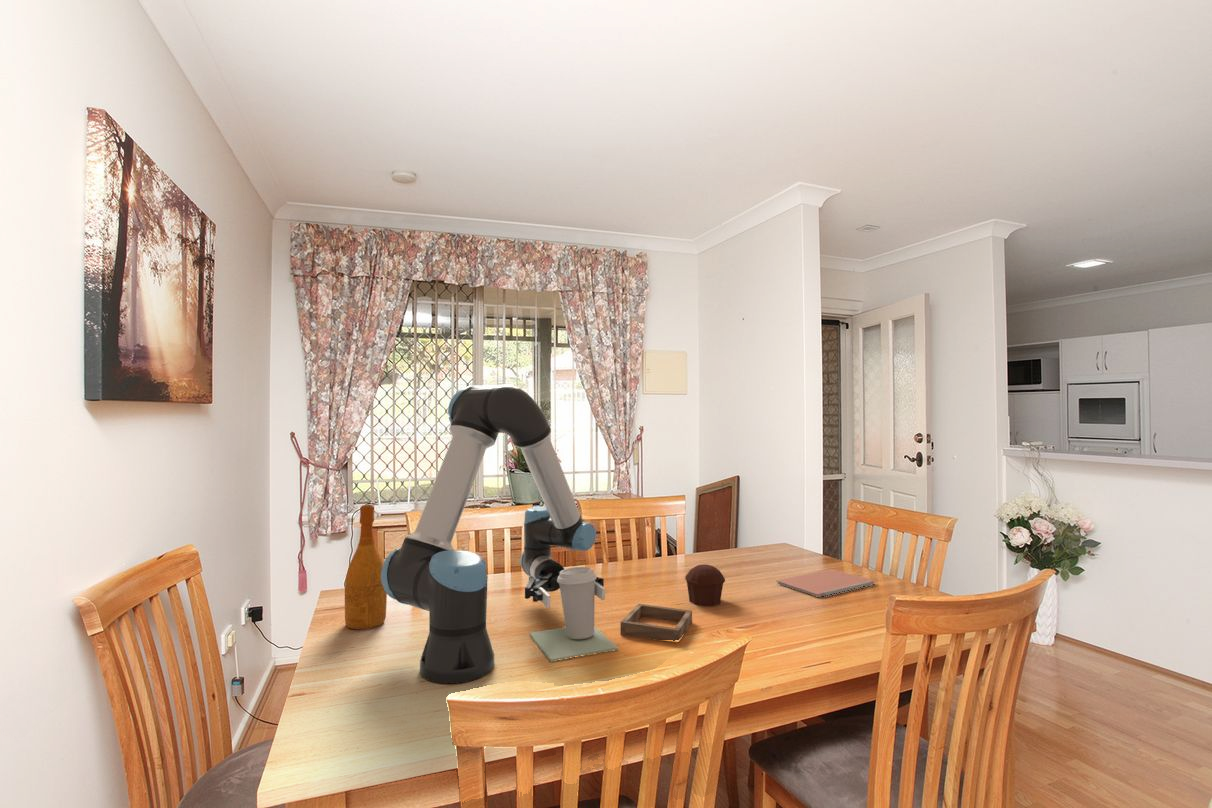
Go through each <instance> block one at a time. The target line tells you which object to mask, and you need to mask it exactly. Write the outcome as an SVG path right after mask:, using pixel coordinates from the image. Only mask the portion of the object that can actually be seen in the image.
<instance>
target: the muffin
mask: <svg viewBox="0 0 1212 808" xmlns="http://www.w3.org/2000/svg"><path fill="white" fill-rule="evenodd" d="M684 578H685V579H684V580H685V581H686V584H687V593H688V600H689V601H688V602H690V603H692V604H693V605H697V606H700V605H701V607H715V606H718V605H720V604H721V600H722V594H723V593H722V592H723V586H724V583H725V581H726V579H725V576H724V575H723V574H722V572H721V571H720V569H719V568H717V567H715V566H713V565H711V564H698V565H696V566H694V567H692V568H691V569H690V570H688V572H687V574H686V575H685V576H684Z"/></svg>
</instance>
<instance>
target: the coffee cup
mask: <svg viewBox="0 0 1212 808" xmlns="http://www.w3.org/2000/svg"><path fill="white" fill-rule="evenodd" d="M597 577H598V576H597V575H596V572H595V571H594V569H593V568H592V567H587V566H576V567H569V568H564V570H562V571H560V574H559V576H558V578H557V583H559V586H560V588H559V593H560V598H561V604H562V611H563V618H564V625H565V627H566V632H567V637H568V638H571V639H584V638H589V637H591V636H593V635H594V627H595V611H596V610H595V606H596V605H595V603H596V600H595V599H596V597H595V596H596V595H595V579H596V578H597Z"/></svg>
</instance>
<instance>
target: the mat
mask: <svg viewBox="0 0 1212 808" xmlns="http://www.w3.org/2000/svg"><path fill="white" fill-rule="evenodd" d="M529 637H530V638H531V640H533V642H534V644H536V645H537V647H538V646H539V647H540V648H539V647H538V648H539V649H540V651H541V652H542V651H543V652H544V653H545V654H544V653H543V652H542V653H543V654H544V655H545V657H546V656H547V657H548V658H547V657H546V658H547V660H548V661H549V662H550V661H554V662H556V661H555V660H559V659H565V658H570V657H575V656H581V655H588V654H593V655H595V654H594V653H599V654H601V653H600V652H604V653H607V652H606V651H610V652H614V651H613V650H616V651H618V650H619V647H618V646H617V645H616V644H615V643H614V642H612V641H611V640H610V639H609V638H608V637H607V636H606V635H605V634H604V633H602V632H601V631H600V630H599V629H598V628H597V627H596V626H594V635H593V636H591V637H589V638H584V639H571V638H568V637H567V632H566V626H564V627H558V628H552V629H547V630H546V629H545V630H538V631H533V632H529ZM588 656H589V655H588ZM565 660H566V659H565Z"/></svg>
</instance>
